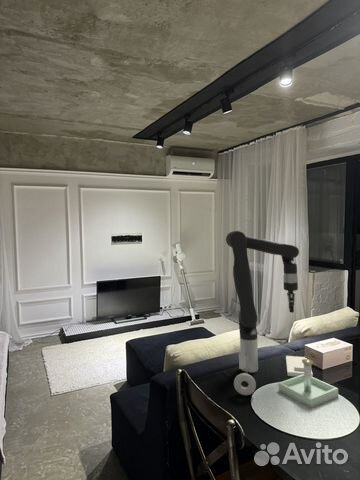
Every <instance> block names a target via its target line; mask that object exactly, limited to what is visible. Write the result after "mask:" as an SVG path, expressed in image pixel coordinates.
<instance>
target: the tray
mask: <svg viewBox="0 0 360 480" xmlns="http://www.w3.org/2000/svg"><path fill="white" fill-rule="evenodd" d="M278 391H280V392H281V393H283V394H285V395H287V396H289V397H290V398H292V399H294V400H296V401H298V402H299V403H301V404H303V405H304V406H307V407H308V408H310V409H311V408H313V407H316V406H318V405H320V404H323V403H325V402H327V401H330V400H333V399H335V398H337V397H339V388H338V387H336V386H334V385H331V384H329V383H327V382H325V381H322V380H320V379H318V378H316V377H312V376H311V392H305V391H304V374H302V375H300V376H297V377H296V376H293V377H291V378H289V379H286V380H283V381H280V382H278Z"/></svg>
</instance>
